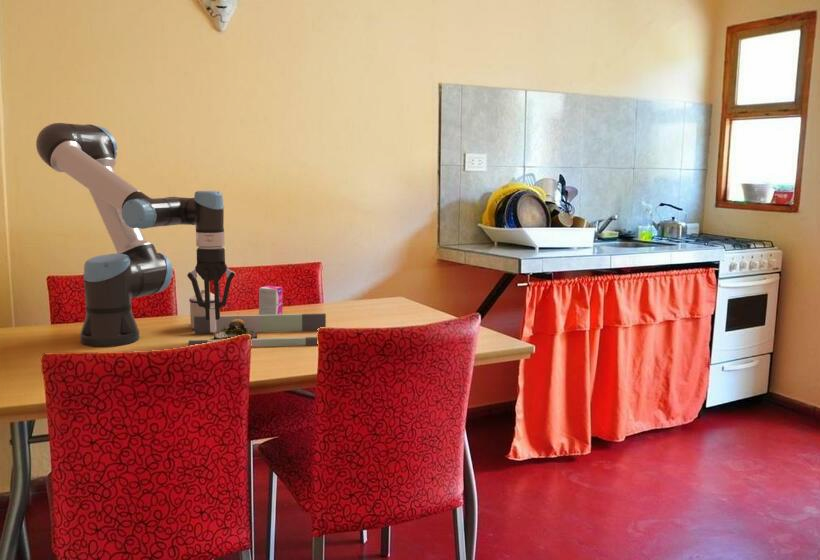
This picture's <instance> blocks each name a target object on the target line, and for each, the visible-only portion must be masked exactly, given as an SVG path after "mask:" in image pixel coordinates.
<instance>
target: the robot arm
mask: <svg viewBox="0 0 820 560" xmlns="http://www.w3.org/2000/svg"><path fill="white" fill-rule="evenodd" d="M117 144H118V143H117V140H116V139H115V137H114V135H113V134H112V133H111V132H110V131H109V130H108V129H107V128H105V127H102V126H99V125H94V124H90V123H89V124H77V123H66V122H53V123H50V124H48V125H46V126H44V127H43V128H42V129H41V131H40V132H39V133H38V134H37V137H36V142H35V145H36V147H35V148H36V151H37V154H38V156H39V157H40V158H41V160H42V161H43V162H44V163H45V164H46V165H48V166H49V167H51V169H52V170H54V171H56V172H59V173H65V174H66V175H68V176H69V177H71V178H72V179H74V180H75V181H76V182H78V183H79V184H80V185H82V186H83V187H85V188H87V190H88V191H89V193H90V194H91V195H90V196H91V197H92V199H93V201H94V204H95V205H96V209H97V210H98V214H99V215H100V218H101V219H102V222H103V224H104V226H105V228H106V230H107V233H108V235H109V237H110V240H111V241H112V243H113V246H114V249H115V251H116V253H110V254H102V255H96V256H93V257H91V258H89V259H88V260H86V261H85V263H84V265H83V282H84V283H83V286H84V297H85V299H84V300H85V316H84V317H85V318H84V320H83V322H82V323H83V324H82V328H81V330H80V333H79V338H80V340H79V341H80V344H82V345H84V346H88V347H89V346H91V347H114V346H116V347H117V346H123V345H128V344H131V343H134V342H136V341H138V340H139V339H140V329H139V327H138V324H137V321H136V319H135V317H134V314H133V311H132V309H133V308H132V299H135V298H140V297H145V296H153V295H155V294H157V293H161V292H163V291H165V290H166V289H167V288H168V287H169V285H170V284H171V282H172V278H173V275H174V274H173V273H174V272H173V270H174V269H173V265H172V262H171V260H170V258H169V257H168V256H167V255H164V253H161V252H157V249H156V246H155V245H154V243H153V242H150V241H147V240H146V238H145V236H144V233H143V232H142V229H143V230H145V229H148V228H150V229H151V228H157V227H159V228H160V227H170V226H179V225H181V226H182V225H184V226H185V225H190V226H195V246H196V247H197V248H196V265H195V267H194V269H193V270H192V271H189V272H188V274H187V275H186V277H187V278H188V280H189V281H190V282H191V285H192V289H193V291H194V296H195V295H196V299H197V302H198V306H199V307H203V308H205V314H206V320H210V332H216V320H219V318H220V316H221V308H222V307H225V306H226V305H227V301H228V298H229V297H228V296H229V291H230V288H231V283H232V280H233V278H234V277H235V274H236V272H235V271H232V270H231V269H228V266H227V264H226V250H225V247H224V246H225V244H226V243H225V228H224V219H225V218H224V217H225V216H224V213H225V212H224V211H225V210H224V209H225V205H224V198H223V193H222V192H221V191H219V190H196V191H195V192H194V195H193V196H194V197H181V196H180V197H179V196H168V197H159V198H156V197H155V198H152V197H149V196H148V195H147V194H145V193H143V192H142V191H140V190H139V189H138V188H136V187H135V186H134V185H132V184H131V183H129V182H128V181H126V180H125V179H123V178H122V177H120V176H119V175H117V174H116V172H115V170H114V168H115V166H116V164H117V161H116V158H117V155H118V152H117V150H118V145H117ZM197 274H198V275H197ZM224 275H225V277H226V281H225V284H224V290H223V294H222V295H223V296H222V300H220V299H221V296H220V280H221V279H222V277H223V276H224ZM198 276H199V277H200V278H201V280H202V281H203V284H204V288H203V289H205V302H203V299H202V296H201V289H200V286H199V283H198V280H197V277H198ZM211 281H212V282H213V294H214V298H215V307H210V293H211V288H210V286H211V285H210V284H211V283H210V282H211Z"/></svg>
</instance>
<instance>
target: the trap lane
mask: <svg viewBox="0 0 820 560" xmlns="http://www.w3.org/2000/svg"><path fill="white" fill-rule="evenodd" d="M326 317H327V316H326V313H322V312H321V313H291V314H290V313H285V314H284V313H282V314H275V315H259V314H236V315H232V314H230V315H220V318H219V320H216V332H210V320H206V316H194V329H193V330H194V334H195V335H200V334H201V335H202V334H203V335H204V334H206V335H207V334H210V333H211V334H216V333H218V332H221V330H222V329H223V328H224V327H225V329H227V328H230V327H229V323H230V322H231V321H232V320H234V319H241V320H243V321H244V323H245V326H244V327H245V328H247V329H248V331H253V332H255V333H278V332H279V333H281V332H315V331H316V332H317V329H318V328H320V327H326V328H327V326H326V323H327V322H326ZM223 326H224V327H223ZM317 337H318V336H308V337H307V336H303V337H302V336H299V337H268V338H267V337H266V338H265V337H263V338H257V339H254V338H252V347H251V348H260V347H261V348H263V347H264V348H265V347H294V346H296V347H297V346H318V345H317ZM213 341H219V339H215V340H214V339H197V340H196V339H195V340H191V339H190V340H188V347H189V346H190V345H195V344H202V343H207V342H213Z"/></svg>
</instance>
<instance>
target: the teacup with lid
mask: <svg viewBox="0 0 820 560" xmlns="http://www.w3.org/2000/svg"><path fill="white" fill-rule="evenodd" d="M200 292H201V296H202V299H203V302H205V288H202V289H200ZM220 301H222V300H221V298H220ZM188 302H189V306H190V308H189V309H190V311H189V314H190V315H189V317H190V327H191V329H193V330H194V316H206V314H205V308H203V307H199V306H198V302H197V299H196V295H195V294H194V295H191V296H190V297H189V300H188ZM210 307H215V298H214V293H212V292H210Z"/></svg>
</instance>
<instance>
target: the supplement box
mask: <svg viewBox="0 0 820 560" xmlns="http://www.w3.org/2000/svg"><path fill="white" fill-rule="evenodd" d="M283 287H284V286H275V285H264V286H261V287H259V288H258V289H259V290H258V292H259V293H258V294H259V295H258V297H259V299H258V315H275V314H283V304H284V303H283V302H284V301H283V297H284V295H283V292H284V291H283V290H284V289H283Z"/></svg>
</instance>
